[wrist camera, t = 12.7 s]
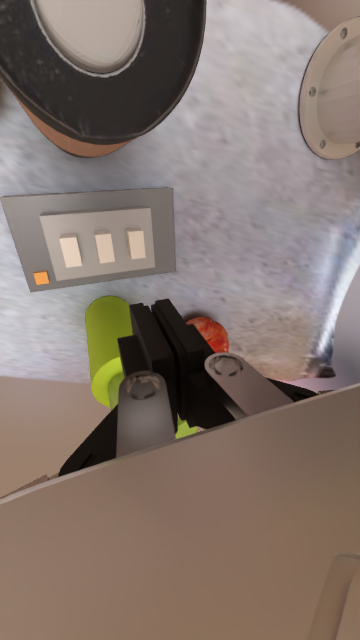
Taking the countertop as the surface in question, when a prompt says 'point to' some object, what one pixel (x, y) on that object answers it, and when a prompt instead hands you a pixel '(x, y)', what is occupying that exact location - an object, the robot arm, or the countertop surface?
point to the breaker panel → (77, 200)
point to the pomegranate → (212, 333)
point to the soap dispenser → (111, 351)
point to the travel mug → (99, 66)
